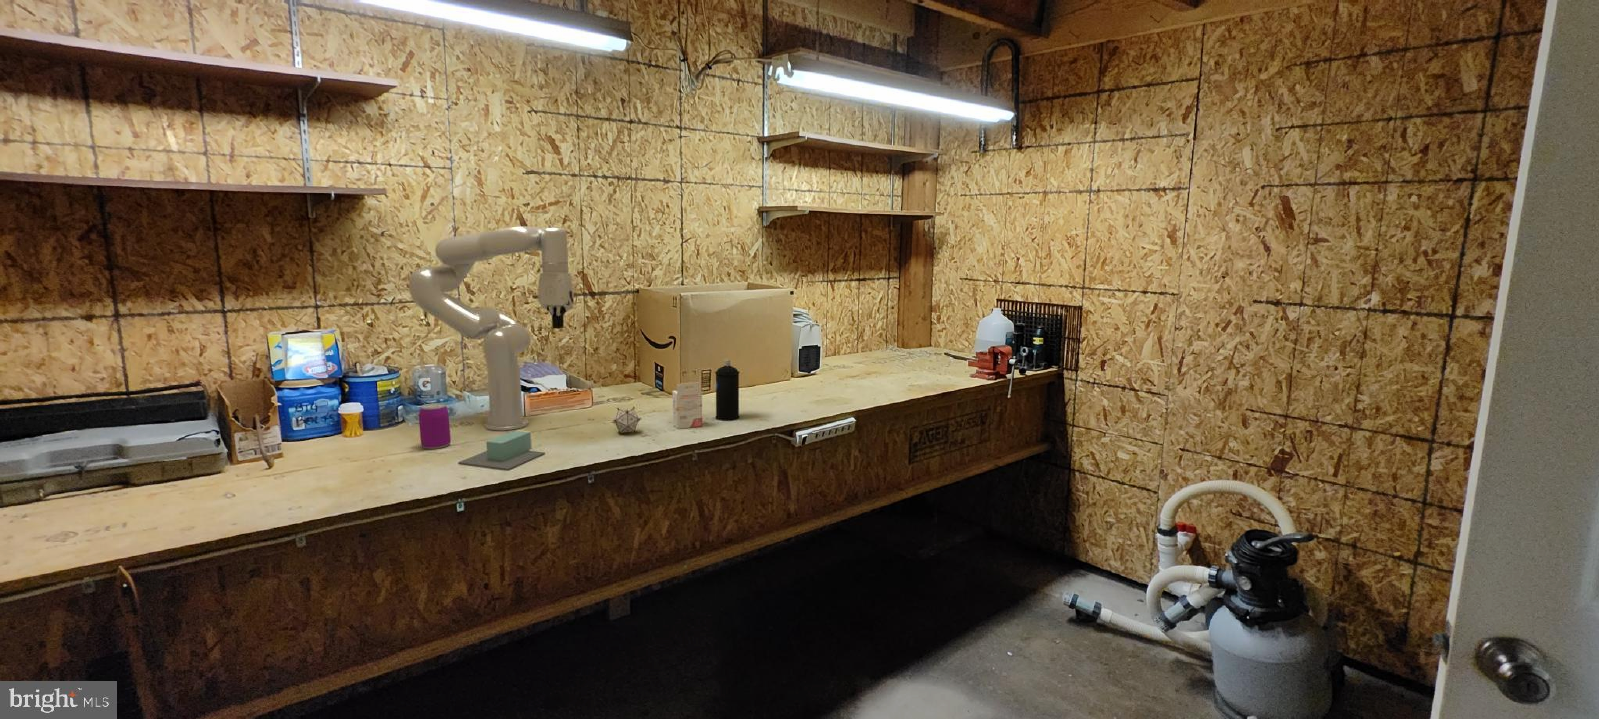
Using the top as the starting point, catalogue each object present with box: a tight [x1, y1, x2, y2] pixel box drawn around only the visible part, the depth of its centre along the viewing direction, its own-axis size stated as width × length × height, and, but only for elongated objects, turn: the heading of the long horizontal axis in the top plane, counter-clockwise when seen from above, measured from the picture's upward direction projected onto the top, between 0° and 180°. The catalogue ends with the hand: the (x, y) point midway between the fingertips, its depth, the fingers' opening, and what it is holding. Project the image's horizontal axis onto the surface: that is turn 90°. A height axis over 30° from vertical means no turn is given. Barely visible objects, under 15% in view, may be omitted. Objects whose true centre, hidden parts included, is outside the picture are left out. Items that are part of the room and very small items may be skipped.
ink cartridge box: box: [672, 381, 704, 430], centre depth 230 cm, size 9×5×15 cm, turn 118°
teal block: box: [485, 429, 533, 461], centre depth 197 cm, size 5×5×12 cm
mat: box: [457, 450, 546, 471], centre depth 195 cm, size 16×15×1 cm
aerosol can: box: [714, 359, 740, 422], centre depth 240 cm, size 8×8×20 cm
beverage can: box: [418, 402, 451, 450], centre depth 205 cm, size 8×8×12 cm
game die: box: [612, 406, 642, 435], centre depth 221 cm, size 9×8×10 cm
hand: (558, 327), depth 221 cm, fingers closed
